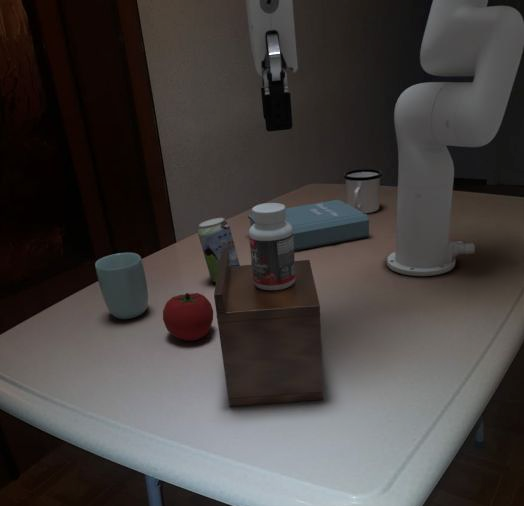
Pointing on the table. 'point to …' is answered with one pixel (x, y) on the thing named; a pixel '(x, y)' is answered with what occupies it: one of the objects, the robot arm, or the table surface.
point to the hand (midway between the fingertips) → (277, 123)
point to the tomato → (188, 316)
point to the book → (325, 224)
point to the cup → (123, 284)
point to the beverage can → (216, 244)
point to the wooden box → (269, 336)
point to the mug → (363, 189)
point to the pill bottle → (271, 247)
